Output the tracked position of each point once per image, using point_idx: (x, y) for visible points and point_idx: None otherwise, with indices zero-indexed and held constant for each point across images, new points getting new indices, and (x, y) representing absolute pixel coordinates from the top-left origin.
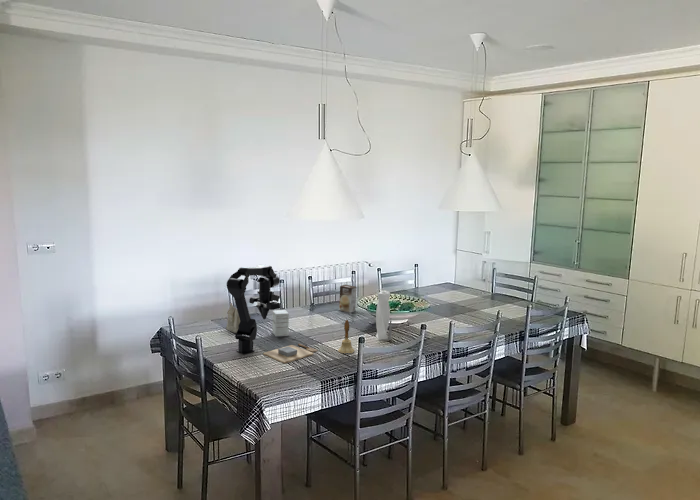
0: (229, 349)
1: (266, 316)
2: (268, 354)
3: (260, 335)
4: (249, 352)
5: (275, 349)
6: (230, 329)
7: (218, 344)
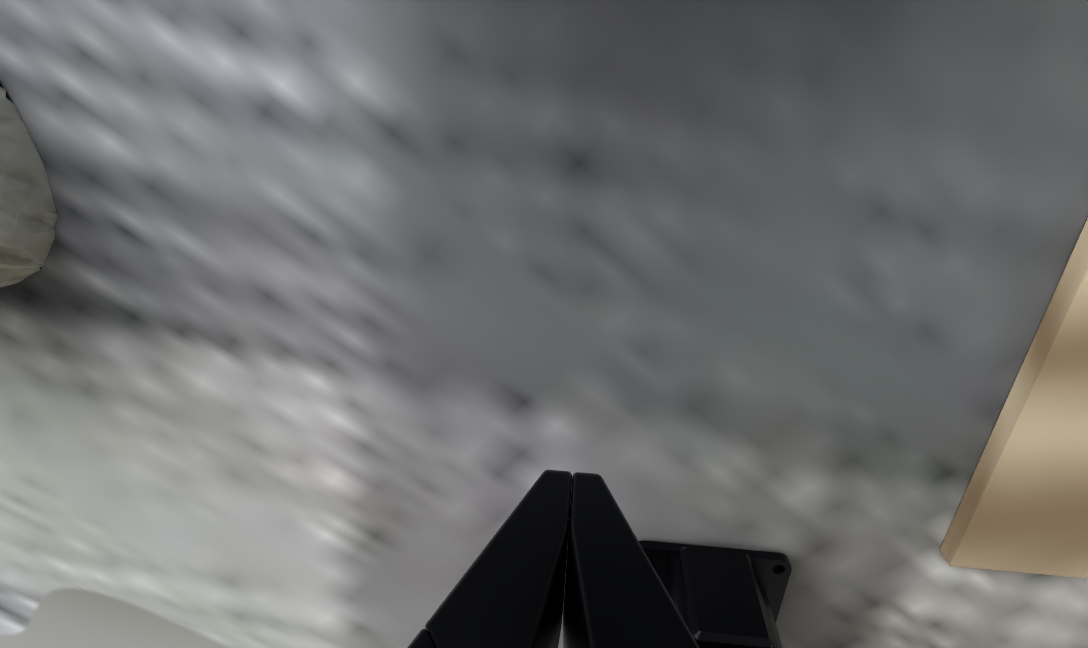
0: None
1: (631, 535)
2: (1045, 566)
3: (297, 80)
4: (775, 610)
5: (1024, 408)
6: None
7: (331, 621)
